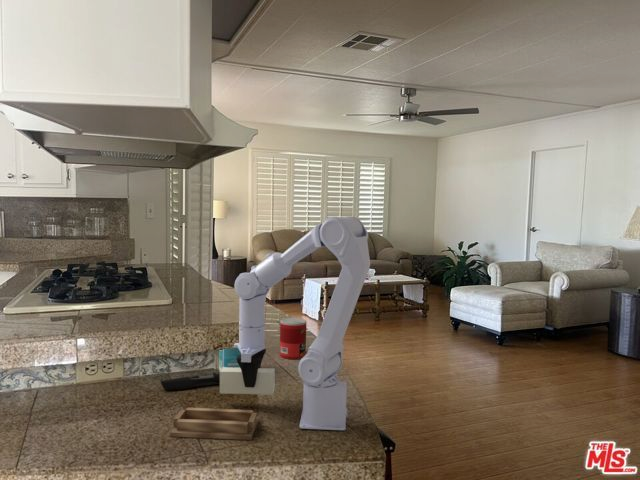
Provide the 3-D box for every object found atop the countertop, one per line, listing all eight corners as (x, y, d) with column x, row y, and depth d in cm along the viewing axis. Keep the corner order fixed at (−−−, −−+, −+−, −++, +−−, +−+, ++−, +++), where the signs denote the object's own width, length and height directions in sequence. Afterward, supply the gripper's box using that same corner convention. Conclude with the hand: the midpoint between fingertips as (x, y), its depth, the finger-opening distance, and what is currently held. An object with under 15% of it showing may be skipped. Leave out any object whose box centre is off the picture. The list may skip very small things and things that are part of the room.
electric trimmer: (159, 390, 124) (158, 377, 124) (220, 381, 131) (220, 369, 131) (161, 395, 121) (161, 382, 121) (224, 386, 128) (224, 373, 128)
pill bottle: (252, 370, 139) (252, 322, 138) (233, 377, 133) (234, 327, 132) (231, 365, 143) (232, 318, 142) (213, 372, 137) (213, 323, 136)
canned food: (305, 360, 150) (306, 323, 149) (278, 359, 150) (279, 323, 149) (306, 352, 157) (307, 318, 157) (280, 351, 157) (281, 317, 157)
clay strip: (274, 389, 116) (274, 368, 116) (272, 394, 113) (273, 372, 113) (222, 388, 116) (222, 367, 116) (219, 393, 113) (219, 371, 113)
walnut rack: (258, 420, 107) (258, 408, 107) (250, 440, 98) (251, 427, 98) (184, 417, 108) (184, 405, 108) (170, 436, 99) (170, 423, 99)
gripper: (240, 317, 121) (240, 372, 122) (227, 332, 107) (226, 395, 107) (269, 318, 121) (269, 373, 122) (260, 333, 106) (259, 396, 107)
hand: (251, 384), depth 115 cm, fingers closed on clay strip, 3 cm apart
